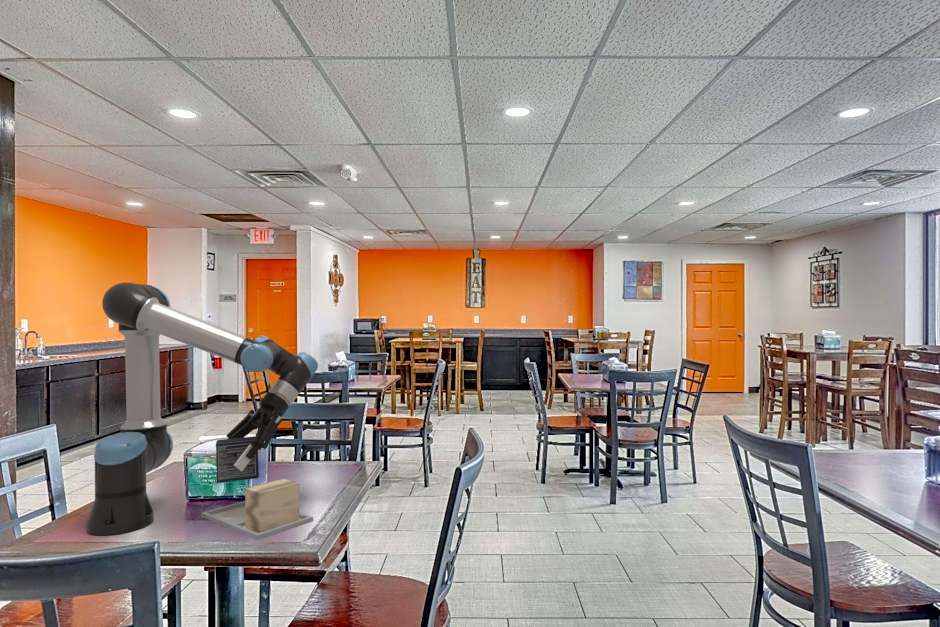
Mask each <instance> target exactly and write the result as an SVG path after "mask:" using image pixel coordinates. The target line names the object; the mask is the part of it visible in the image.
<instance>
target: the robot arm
mask: <svg viewBox="0 0 940 627" xmlns="http://www.w3.org/2000/svg"><path fill="white" fill-rule="evenodd" d="M170 302H171V301H170V299H169V297H168V295H166V293H165V292H164V291H163V290H162V289H160V288H159V287H157V286H153V285H150V284H145V283H144V284H143V283H142V284H141V283H135V282H120V283H116V284H114V285H112V286H111V287H109V288H108V289H107V291H106V292H105V293H104V294H103V298H102V302H101V303H102V304H101V305H102V310H103V312H104V314H105V315H106V317H107V318H108V319H110V320H111V321H112V322H115V323H116V324H118V333H120V335H122V336H123V337H124V354H125V357H124V358H125V360H124V361H125V400H126V401H125V403H126V421H125V422H124V423H122V425H121V426H120V433H119V432H118V433H115V434H111V435H108V436H105V437H102V438H101V439H99V440H98V441H97V443H96V444H95V450H94V455H93V459H94V501H93V504H92V507H91V509H90V513H89V515H88V518H87V521H86V532H87V533H88V534H90V535H97V536H112V535H120V534H125V533H130V532H134V531H137V530H140V529H143V528H145V527H148V526H149V525H151V524H152V523H153V522H154V521H155V520H154V519H155V514H154V513H155V511H154V509H153V506H152V503H151V502H150V498H149V496H148V493H147V474H148V473H149V472H152V471H154V470H156V469H158V468H159V467H161V466H162V465H163V464H164V463H165V462H166V461H167V460H168V459H169V458H170V456H171V454H172V452H173V448H174V442H173V438H172V436H171V434H170V433H169V432H168V428H167V427H168V426H167V425H168V424H167V421H165V420H164V418H162V416H161V414H162V413H161V410H162V409H161V376H160V375H161V373H160V372H161V370H160V369H161V368H160V364H161V363H160V336H164V337H167V338H169V339H172V340H174V341H178V342H180V343H183V344H185V345H188V346H189V347H193V348H196V349H198V350H201V351H204V352H206V353H209V354H211V355H213V356H217V357H219V358H222V359H224V360H227V361H230V362H232V363H235V364H237V365H239V366H242V367H243V368H244V369H246V371H249V372H250V373H251V372H252V373H261V372H264V371H267V370H269V371H270V372H272V373H274V374H275V375H276V376H279V377H278V379H276V381H275V382H273V385H271V387H270V388H269V389H268V392H266V393H265V395H264V396H263V397H262V398H261V400H260V401H259V404H260V407H259V409H258V410H257V411H254V410H253V409H251V410H250V411H249V412H248V413H247V415H245V417H244V418H243V419H242V420H240V422H238V423H237V425H235V426H234V427H233V428H232V429H231V430H230V432H228V433H227V434H226V438H227V439H233V438H243V437H246V436H248V435H249V434H250V433H251V432H253V431H254V430H257V431H256V434H255V439H254V441H253V442H251V444H252V445H253V446H252V445H251V444H250V445H249V446H248V447H247V449H246V450H245V451H244V452H243V454H242V455H241V456H240V458H239V459H238V460H237V462H236V463H235V464H234V466H235V467H236V468H238V469H239V470H240V471H243V470H244V468H245V467H246V466H247V464H248V463H249V462H250V460H251V459H252V458H253V457H254V455H255V454H256V453H257V451H258V452H259V451H260V450H262V449H263V450H266V449H267V448H268V447H269V444H270V442H271V441H272V439H273V436H274V435H275V433H276V432H277V429H278V427H279V425H281V423H282V422H283V420H284V419H283V418H282V417H283V416H284V415H285V414H286V412H287V411H288V409H289V406H292V404H293V402H295V400H296V398H298V396H299V395H300V394H301V392H302V391H303V390H304V388H305V387H306V386H307V385H308V383H309V382H310V381H311V380H312V379H313V377H314V375H315V373H316V372H317V370H318V368H319V363H318V360H316V359H315V357H313V355H311V354H308V353H306V352H305V351H301V352H298V353H297V354H294V353H292V352H290V351H289V350H287V349H286V348H284V347H282V346H281V345H280V344H278V343H277V342H275V341H274V340H273V339H271V338H269V337H267V336H265V335H263V334H261V335H259V336H258V337H256V338H255V339H252V338H249V337H246V336H244V335H241V334H238V333H236V332H234V331H231V330H229V329H226V328H223V327H220V326H218V325H215V324H213V323H210V322H207V321H205V320H202V319H201V318H198V317H195V316H193V315H190V314H187V313H184V311H183V312H182V311H180V310H178V309H175V308H172V307H171V303H170ZM213 461H215V462H216V455H215V456H214V458H213Z"/></svg>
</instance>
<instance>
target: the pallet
mask: <svg viewBox="0 0 940 627" xmlns="http://www.w3.org/2000/svg"><path fill="white" fill-rule="evenodd" d="M200 515H201V516H200V518H201V519H202V518H203V519H206V520H208V521H211V522H213V523H216V524H219V525H220V526H222V527H225V528H227V529H230V530H232V531H234V532H237V533H239V534H242V535H245V536H247V537H249V538H251V539H254V540H257V541H258V540H262V539H264V538H267V537H270V536H273V535H277V534H279V533H281V532H286V531H287V530H290V529H293V528H296V527H300V526H303V525H306V524H308V523H312V522H314V517H313V516H311V515H308V514H305V513H302V512H300V511H299V520H298V521H295V522H292V523H289V524H286V525H283V526H280V527H277V528H274V529H271V530H267V531H264V532H261V533H257V532H254V531H252V530H249V529H247V528H245V500H243V501H239V502H236V503H232V504H228V505H225V506H221V507H218V508H213V509H210V510H207V511H202V512H201V514H200Z"/></svg>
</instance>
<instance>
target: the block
mask: <svg viewBox="0 0 940 627" xmlns="http://www.w3.org/2000/svg"><path fill="white" fill-rule="evenodd" d="M244 491H245V492H244V498H245V500H244V501H245V528H247V529H249V530H252V531H254V532H257V533H261V532H264V531H267V530H271V529H274V528H277V527H280V526H283V525H286V524H289V523H292V522H295V521H298V520H299V512H300V483H299V482H297V481H293V480H289V479H286V478H281V479H276V480H273V481H268V482H264V483H260V484H257V485H253V486H249V487H246V488H245V490H244Z"/></svg>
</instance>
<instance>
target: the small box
mask: <svg viewBox="0 0 940 627" xmlns="http://www.w3.org/2000/svg"><path fill="white" fill-rule="evenodd" d="M255 436H256V435H255ZM255 436H247V437H246V436H245V437H243V438H233V439H228V438H224V439H223V438H222V439H217V440H216V441H215V442H216V443H215V451H216V453H215V456H216V461H215V463H216V483H217V484H220V483H221V484H222V483H228V482H237V481H238V482H239V481H244V480H245V481H246V480H253V479H259V477H260V472H259V450H258V451H257V453H256V454H255V455H254V457H253V458H252V459H251V460H250V462H249V463H248V464H247V466H246V467H245V468H244V470H243V471H240V470H239V469H238V468H236V467H235V466H234V464H235V463H236V462H237V460H238V459H239V458H240V456H241V455H242V454H243V452H244V451H245V450H246V449H247V447H248V446H249V445H250V444H251V442H253V441H254V439H255ZM251 445H252V444H251ZM252 446H253V445H252Z"/></svg>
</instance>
